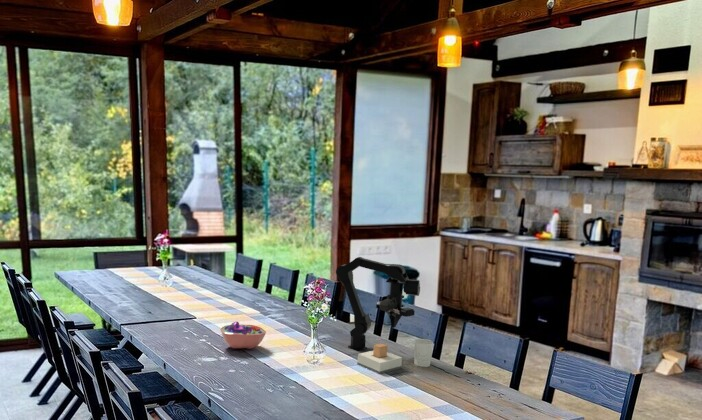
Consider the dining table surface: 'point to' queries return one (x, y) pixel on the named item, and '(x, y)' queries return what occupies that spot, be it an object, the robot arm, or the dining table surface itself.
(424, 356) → the white cup
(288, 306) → the dining table surface
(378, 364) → the socket plate
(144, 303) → the dining table surface
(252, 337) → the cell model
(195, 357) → the dining table surface
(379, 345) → the plug
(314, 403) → the dining table surface
